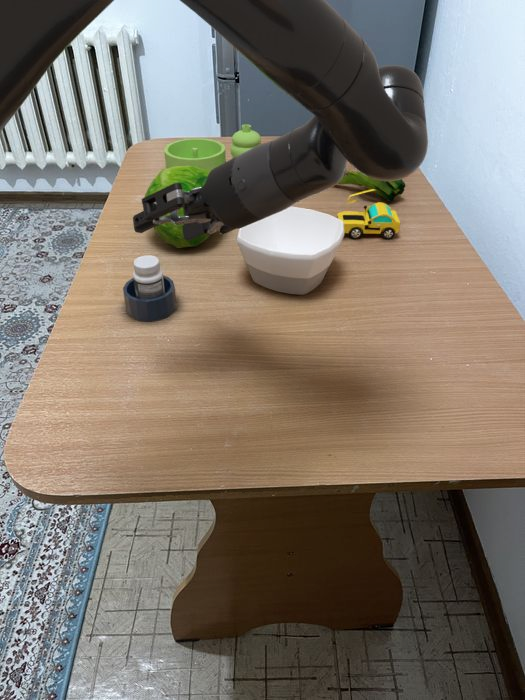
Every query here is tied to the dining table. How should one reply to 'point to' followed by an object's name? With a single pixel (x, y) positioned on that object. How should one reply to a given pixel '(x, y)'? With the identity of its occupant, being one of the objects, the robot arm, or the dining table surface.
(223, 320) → the dining table surface
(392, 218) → the toy car
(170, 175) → the lettuce
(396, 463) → the dining table surface
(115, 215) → the dining table surface
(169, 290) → the bottle holder
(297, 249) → the bowl
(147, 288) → the pill bottle
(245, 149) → the food container
